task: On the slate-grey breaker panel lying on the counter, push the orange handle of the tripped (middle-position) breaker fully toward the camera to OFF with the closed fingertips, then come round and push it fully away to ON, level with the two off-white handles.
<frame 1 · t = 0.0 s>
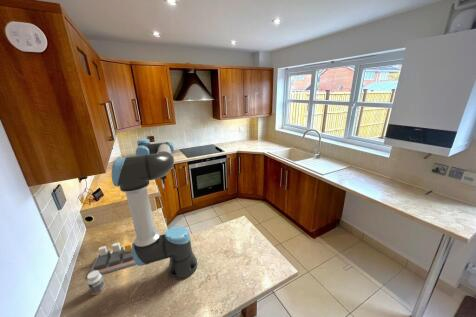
hand: (153, 189, 136), 28 cm above the worktop, fingers open, 13 cm apart
panel: (117, 260, 112), on the worktop
pill bottle: (98, 290, 94), on the worktop
tripped breaker: (128, 247, 112), point 6 cm above the worktop, slide at 0.0 cm
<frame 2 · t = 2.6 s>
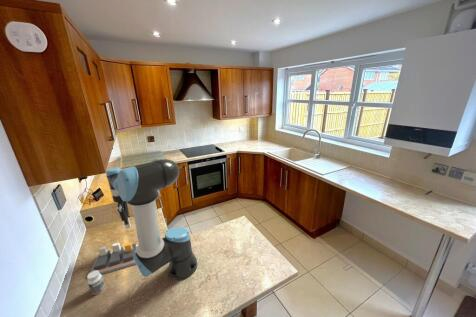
hand: (128, 227, 118), 14 cm above the worktop, fingers closed
nothing on the worktop moved.
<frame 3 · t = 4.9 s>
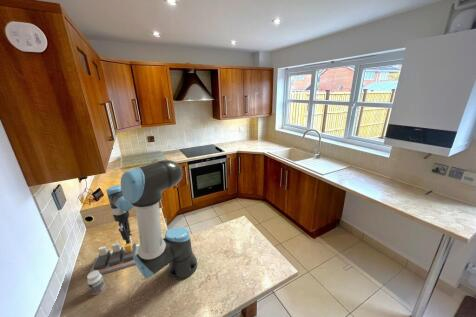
hand: (129, 246, 115), 5 cm above the worktop, fingers closed
tripped breaker: (128, 248, 112), point 7 cm above the worktop, slide at -0.5 cm, touching gripper
everything else where it was.
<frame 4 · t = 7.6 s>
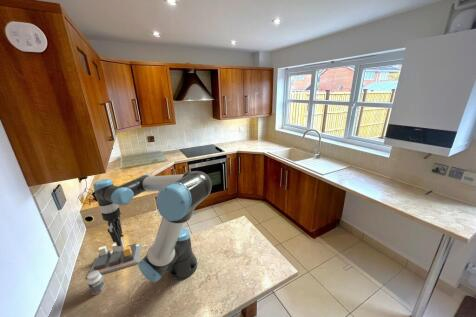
hand: (121, 249, 100), 14 cm above the worktop, fingers closed
tripped breaker: (127, 251, 109), point 6 cm above the worktop, slide at -3.4 cm
everything else where it was.
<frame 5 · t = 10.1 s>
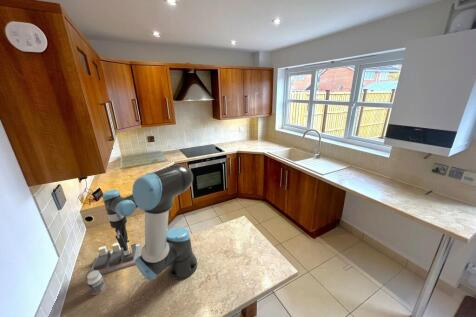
hand: (127, 253, 109), 6 cm above the worktop, fingers closed
tripped breaker: (127, 249, 110), point 6 cm above the worktop, slide at -2.2 cm, touching gripper
everything else where it was.
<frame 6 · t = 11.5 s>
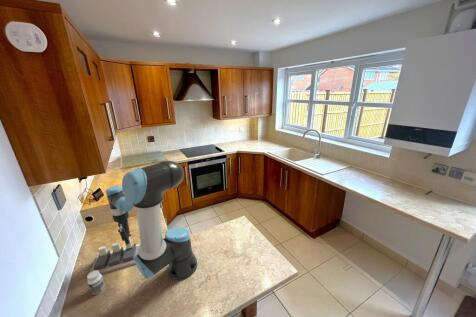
hand: (129, 247, 114), 5 cm above the worktop, fingers closed
tripped breaker: (129, 243, 115), point 6 cm above the worktop, slide at 3.5 cm, touching gripper
everything else where it was.
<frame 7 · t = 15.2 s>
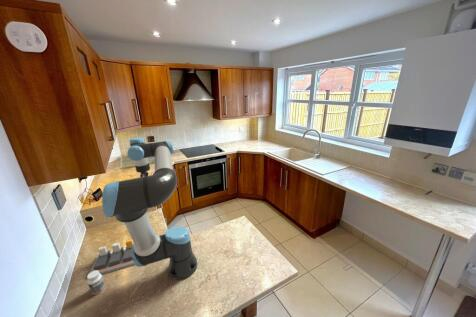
hand: (149, 200, 118), 29 cm above the worktop, fingers closed
tripped breaker: (129, 243, 115), point 6 cm above the worktop, slide at 3.5 cm
everything else where it was.
at the end: tripped breaker slide at 3.5 cm; tripped breaker touching nothing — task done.
